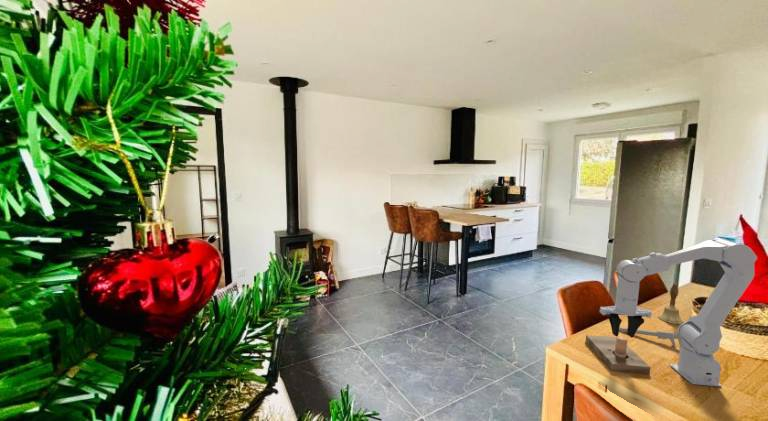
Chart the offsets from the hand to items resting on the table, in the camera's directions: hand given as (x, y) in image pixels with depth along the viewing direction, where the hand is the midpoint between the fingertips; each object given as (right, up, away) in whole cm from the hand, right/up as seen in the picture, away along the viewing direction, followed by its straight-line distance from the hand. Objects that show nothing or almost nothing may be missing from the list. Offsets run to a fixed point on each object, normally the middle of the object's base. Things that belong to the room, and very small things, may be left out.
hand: (622, 335), depth 106 cm
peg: (0, -9, +1) cm, 9 cm away
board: (0, -9, +4) cm, 10 cm away
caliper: (+21, -8, +16) cm, 28 cm away
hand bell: (+44, -6, +31) cm, 54 cm away
